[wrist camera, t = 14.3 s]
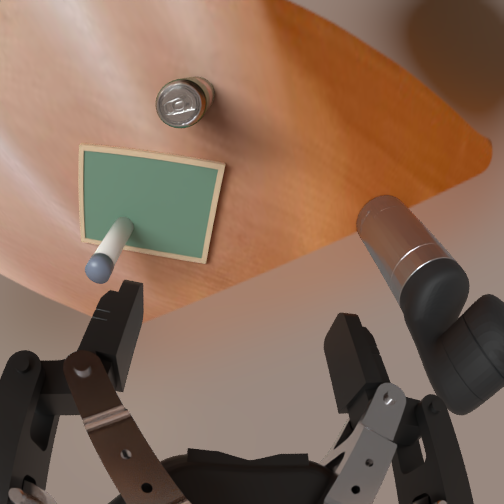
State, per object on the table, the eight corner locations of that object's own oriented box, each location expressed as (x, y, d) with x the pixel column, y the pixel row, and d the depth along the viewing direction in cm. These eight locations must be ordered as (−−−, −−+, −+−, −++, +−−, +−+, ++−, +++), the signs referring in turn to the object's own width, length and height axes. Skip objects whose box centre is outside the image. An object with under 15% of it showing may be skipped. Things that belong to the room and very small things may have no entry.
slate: (225, 163, 42) (225, 165, 41) (206, 260, 50) (205, 263, 50) (82, 143, 38) (79, 144, 37) (83, 238, 47) (81, 241, 46)
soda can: (219, 106, 37) (212, 120, 27) (183, 118, 38) (163, 137, 28) (208, 71, 34) (195, 71, 24) (171, 84, 35) (145, 91, 25)
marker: (134, 218, 45) (108, 264, 35) (133, 237, 46) (109, 285, 36) (114, 214, 44) (83, 259, 34) (114, 233, 46) (86, 280, 36)
